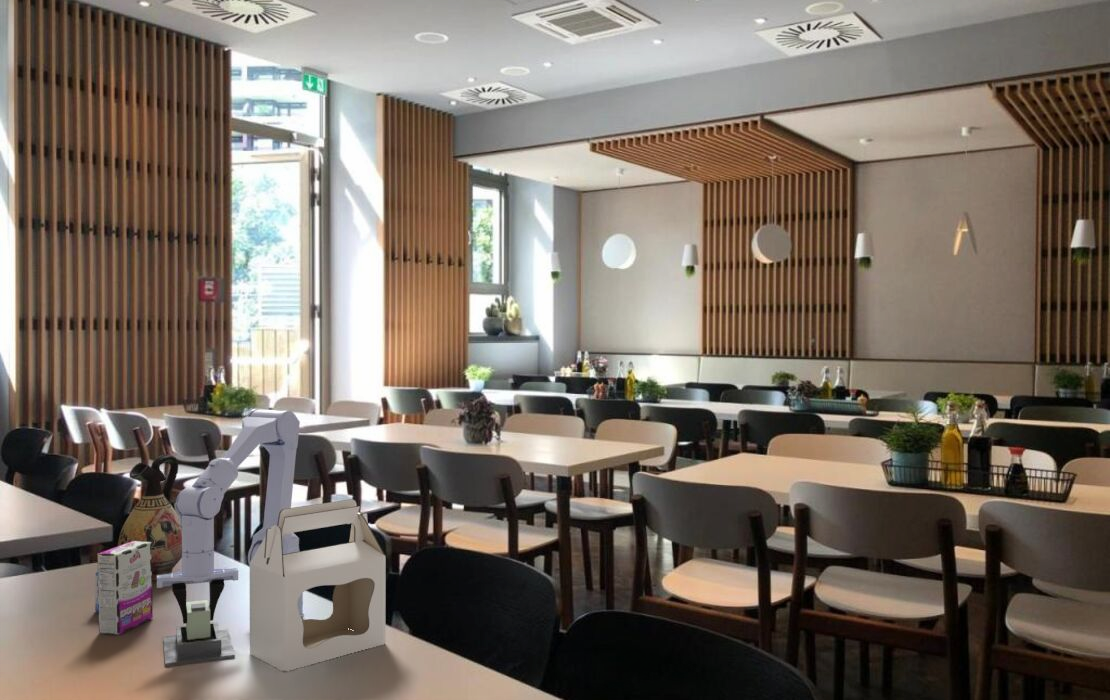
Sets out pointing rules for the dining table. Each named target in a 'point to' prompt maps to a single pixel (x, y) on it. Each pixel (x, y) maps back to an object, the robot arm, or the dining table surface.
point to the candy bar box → (124, 587)
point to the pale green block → (198, 619)
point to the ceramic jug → (155, 516)
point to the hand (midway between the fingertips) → (198, 620)
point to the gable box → (289, 575)
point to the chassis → (197, 647)
